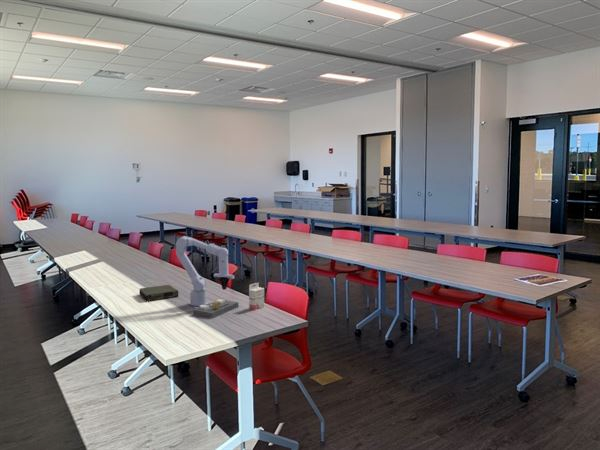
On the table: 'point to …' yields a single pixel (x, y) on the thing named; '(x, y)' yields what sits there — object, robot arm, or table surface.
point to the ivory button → (220, 301)
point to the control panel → (216, 312)
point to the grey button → (204, 307)
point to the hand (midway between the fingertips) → (224, 289)
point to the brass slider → (215, 305)
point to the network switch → (158, 292)
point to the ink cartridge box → (256, 296)
